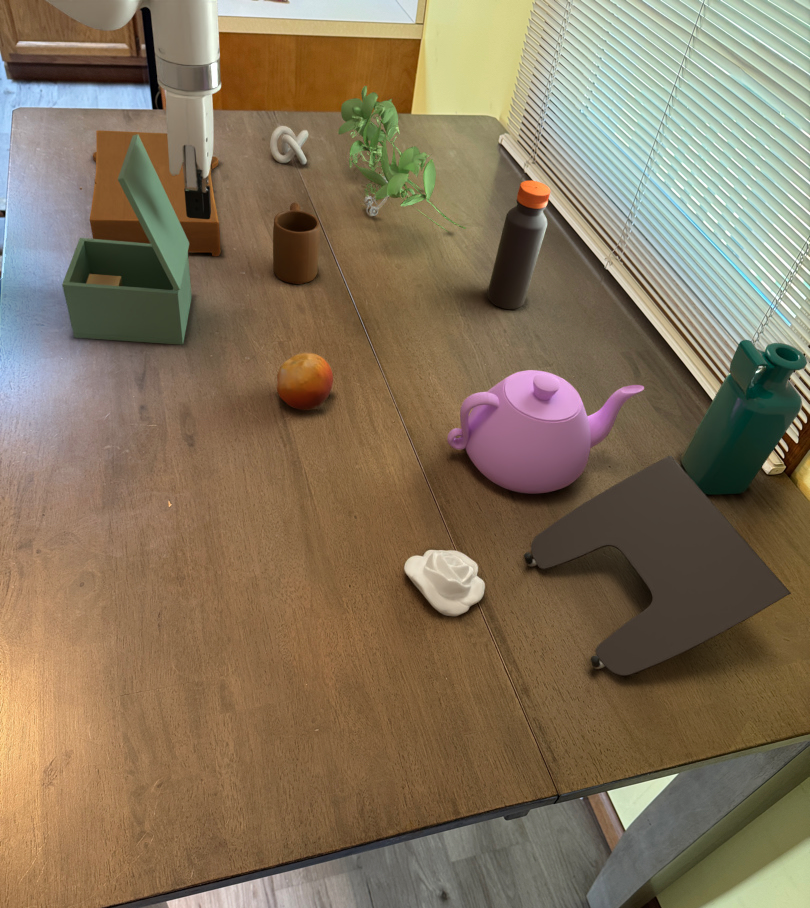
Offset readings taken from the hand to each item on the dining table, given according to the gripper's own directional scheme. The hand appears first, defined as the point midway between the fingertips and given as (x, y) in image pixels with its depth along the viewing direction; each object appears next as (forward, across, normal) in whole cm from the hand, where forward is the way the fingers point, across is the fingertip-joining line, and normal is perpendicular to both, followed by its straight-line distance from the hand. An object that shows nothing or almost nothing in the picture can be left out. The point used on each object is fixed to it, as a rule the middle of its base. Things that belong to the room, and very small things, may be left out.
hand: (199, 215), depth 107 cm
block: (+17, 0, -15) cm, 22 cm away
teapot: (+18, +27, +47) cm, 57 cm away
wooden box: (+18, -35, -12) cm, 41 cm away
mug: (+18, -18, +13) cm, 28 cm away
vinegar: (+18, -13, +50) cm, 55 cm away
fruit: (+18, +17, +15) cm, 29 cm away
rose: (+18, +50, +32) cm, 62 cm away
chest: (+17, 0, -11) cm, 20 cm away
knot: (+18, -58, +11) cm, 62 cm away
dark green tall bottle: (+18, +29, +74) cm, 82 cm away
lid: (0, 0, -6) cm, 6 cm away
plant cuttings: (+18, -40, +32) cm, 54 cm away
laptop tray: (+18, +51, +55) cm, 77 cm away
